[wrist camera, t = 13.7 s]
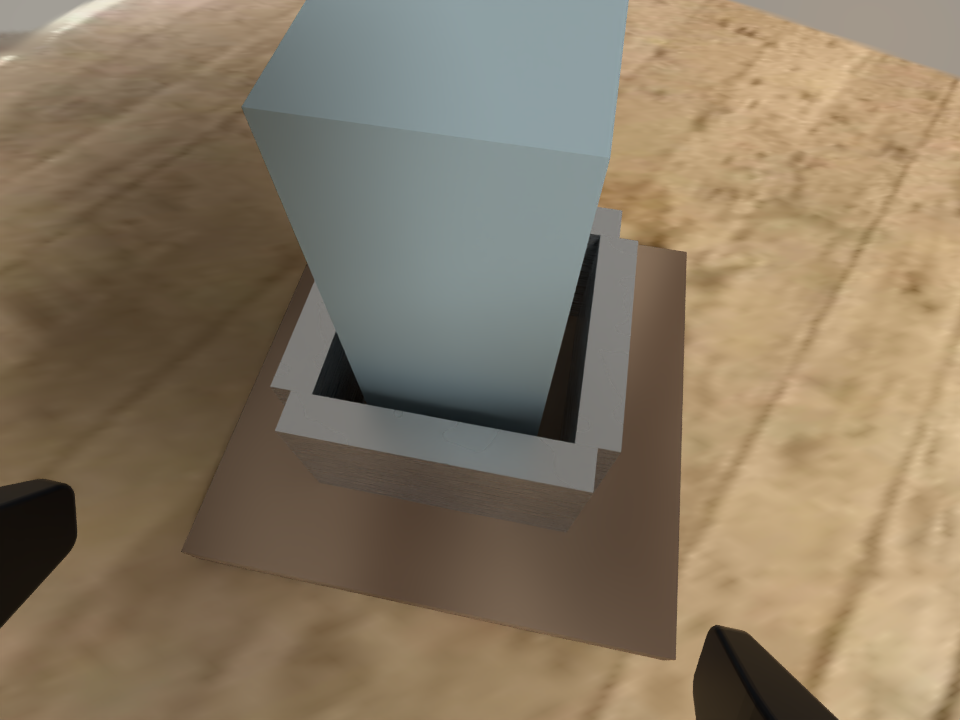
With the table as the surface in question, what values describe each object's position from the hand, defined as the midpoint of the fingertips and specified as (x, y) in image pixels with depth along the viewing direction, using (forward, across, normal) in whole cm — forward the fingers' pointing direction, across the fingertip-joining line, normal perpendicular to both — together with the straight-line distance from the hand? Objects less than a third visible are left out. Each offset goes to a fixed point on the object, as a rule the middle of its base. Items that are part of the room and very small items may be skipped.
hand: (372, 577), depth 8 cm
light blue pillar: (+10, 0, 0) cm, 10 cm away
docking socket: (+11, 0, +1) cm, 11 cm away
